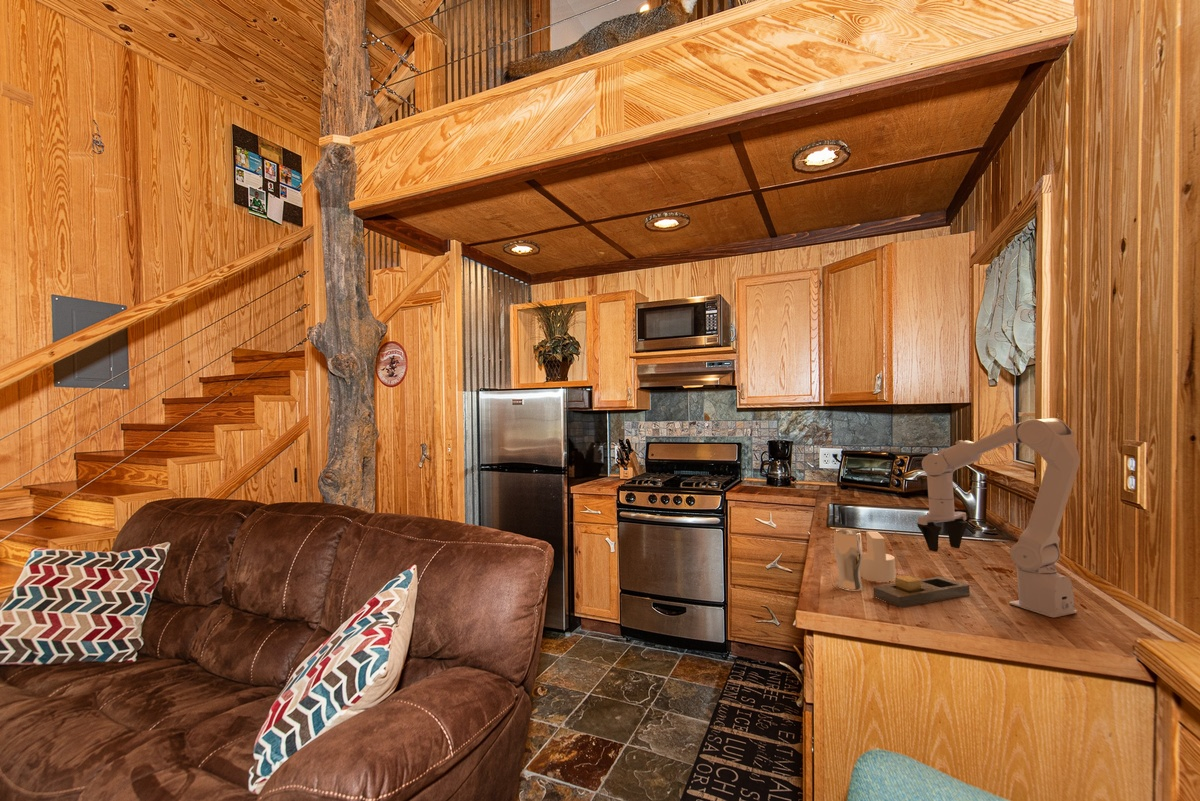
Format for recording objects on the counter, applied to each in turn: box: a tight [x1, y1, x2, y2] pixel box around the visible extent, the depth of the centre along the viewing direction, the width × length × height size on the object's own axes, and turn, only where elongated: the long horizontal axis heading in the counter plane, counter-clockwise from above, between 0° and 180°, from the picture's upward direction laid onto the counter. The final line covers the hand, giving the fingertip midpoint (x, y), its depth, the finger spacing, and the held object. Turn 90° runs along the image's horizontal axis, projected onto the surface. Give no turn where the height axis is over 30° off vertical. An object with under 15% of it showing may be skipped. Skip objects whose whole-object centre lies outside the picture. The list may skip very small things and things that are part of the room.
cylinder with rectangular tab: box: [861, 530, 897, 583], centre depth 148 cm, size 9×9×12 cm
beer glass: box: [833, 528, 864, 591], centre depth 140 cm, size 7×7×15 cm
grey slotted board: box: [872, 575, 971, 609], centre depth 132 cm, size 22×8×2 cm, turn 107°
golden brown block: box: [894, 574, 922, 593], centre depth 131 cm, size 4×4×5 cm
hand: (944, 549), depth 140 cm, fingers open, 7 cm apart
